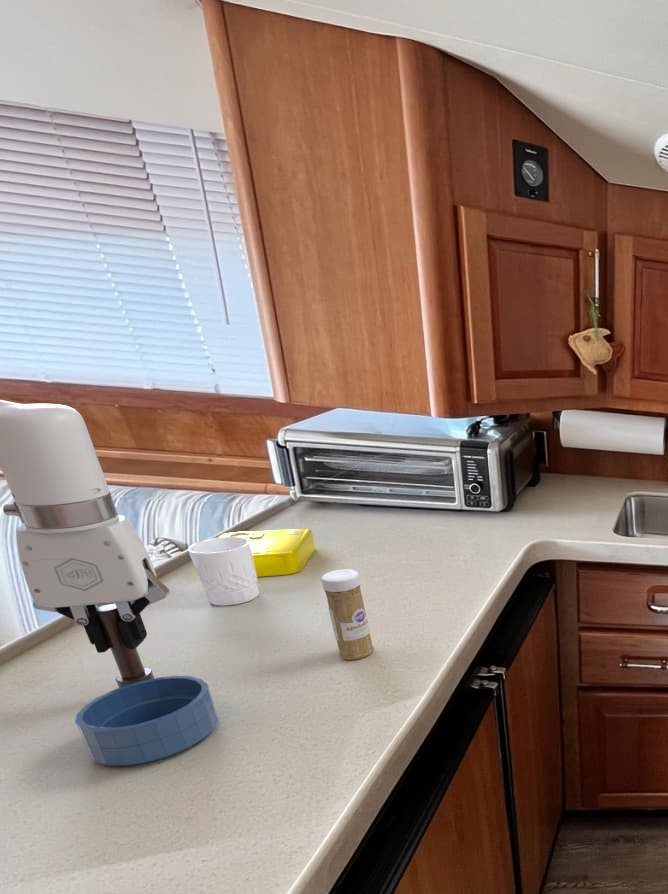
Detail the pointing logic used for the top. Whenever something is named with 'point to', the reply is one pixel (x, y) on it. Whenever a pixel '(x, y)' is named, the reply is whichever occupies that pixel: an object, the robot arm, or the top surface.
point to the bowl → (147, 720)
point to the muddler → (121, 648)
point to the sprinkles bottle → (347, 613)
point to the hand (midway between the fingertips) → (122, 644)
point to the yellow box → (278, 550)
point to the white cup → (225, 570)
